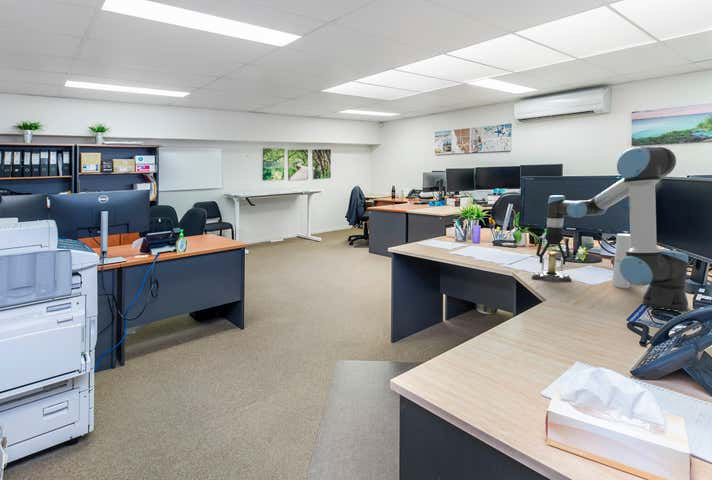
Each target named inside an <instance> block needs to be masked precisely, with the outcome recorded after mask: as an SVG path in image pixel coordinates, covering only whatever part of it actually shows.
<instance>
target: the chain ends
mask: <svg viewBox="0 0 712 480" xmlns="http://www.w3.org/2000/svg"><path fill="white" fill-rule="evenodd" d="M531 278H532V279H533V280H541V279H542V280H544V281H550V282H551V281H552V282H570V283H571V282H572V276H571V275H569V274H560V273H559V272H558V271H555V275H551V274H548V270H547V271H545V270H543V273H540V272H532V273H531Z"/></svg>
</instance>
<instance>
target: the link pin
mask: <svg viewBox="0 0 712 480" xmlns="http://www.w3.org/2000/svg"><path fill="white" fill-rule="evenodd" d="M547 254H548V264H547V265H548V267H547V272H548V274H551V275H555V272H556V270H557V269H556V268H557V256H558V252H556V251H549V252H547Z"/></svg>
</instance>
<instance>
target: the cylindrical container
mask: <svg viewBox="0 0 712 480" xmlns="http://www.w3.org/2000/svg"><path fill="white" fill-rule="evenodd" d="M615 239H616V241H615V248H614V249H615V252H614V258H615V260H614V268H613V272H612V273H613V274H612V281H611V282H612V284H611V286H612V287H616V288H621V289H628V288H630V286H631V283H629V282H627V281H626V279H624V278H623V276H622V275H621V272H620V263H621V261H622V260H623V259H624V258H626V250H627V249H629V248H630V233H616V238H615Z"/></svg>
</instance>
